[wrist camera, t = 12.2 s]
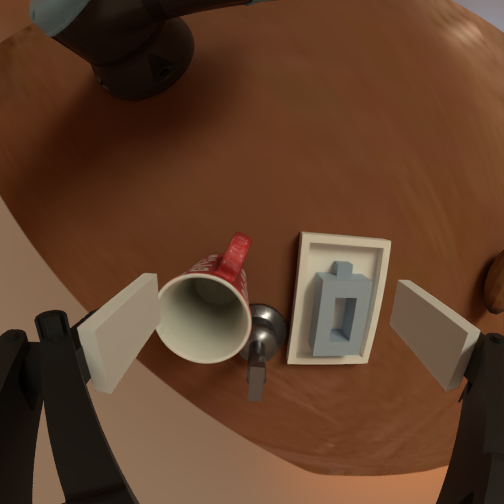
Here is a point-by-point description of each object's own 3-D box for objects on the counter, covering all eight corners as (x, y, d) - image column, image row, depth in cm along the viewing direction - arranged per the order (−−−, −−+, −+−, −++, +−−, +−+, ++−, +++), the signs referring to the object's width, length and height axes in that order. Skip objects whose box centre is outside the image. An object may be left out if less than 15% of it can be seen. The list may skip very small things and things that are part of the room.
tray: (300, 231, 36) (302, 233, 34) (384, 238, 36) (391, 241, 34) (286, 356, 39) (287, 363, 37) (362, 356, 39) (367, 363, 37)
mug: (232, 324, 39) (221, 379, 25) (175, 291, 38) (138, 333, 25) (281, 246, 37) (294, 270, 23) (219, 210, 36) (198, 214, 23)
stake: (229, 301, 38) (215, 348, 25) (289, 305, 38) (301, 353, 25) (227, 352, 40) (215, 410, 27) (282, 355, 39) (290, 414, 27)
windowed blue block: (350, 341, 38) (358, 354, 34) (308, 341, 38) (312, 356, 34) (363, 262, 36) (374, 269, 32) (317, 259, 36) (324, 266, 32)
